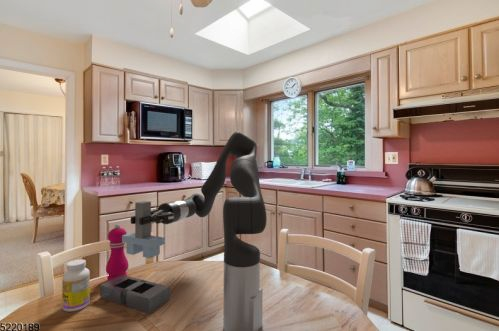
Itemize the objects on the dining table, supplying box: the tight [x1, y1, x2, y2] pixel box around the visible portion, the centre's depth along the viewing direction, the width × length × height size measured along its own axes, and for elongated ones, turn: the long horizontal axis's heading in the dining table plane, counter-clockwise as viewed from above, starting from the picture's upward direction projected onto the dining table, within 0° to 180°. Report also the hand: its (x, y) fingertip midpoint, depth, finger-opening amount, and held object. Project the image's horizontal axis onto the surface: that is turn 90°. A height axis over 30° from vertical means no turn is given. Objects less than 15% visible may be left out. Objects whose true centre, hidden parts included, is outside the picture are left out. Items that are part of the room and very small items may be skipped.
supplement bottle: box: [61, 259, 91, 312], centre depth 75 cm, size 7×7×13 cm
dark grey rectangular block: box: [99, 275, 170, 314], centre depth 80 cm, size 20×8×4 cm, turn 66°
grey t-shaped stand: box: [122, 200, 166, 259], centre depth 82 cm, size 14×4×16 cm, turn 66°
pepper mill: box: [105, 223, 129, 282], centre depth 92 cm, size 7×7×20 cm
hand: (135, 221), depth 80 cm, fingers closed on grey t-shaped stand, 3 cm apart
